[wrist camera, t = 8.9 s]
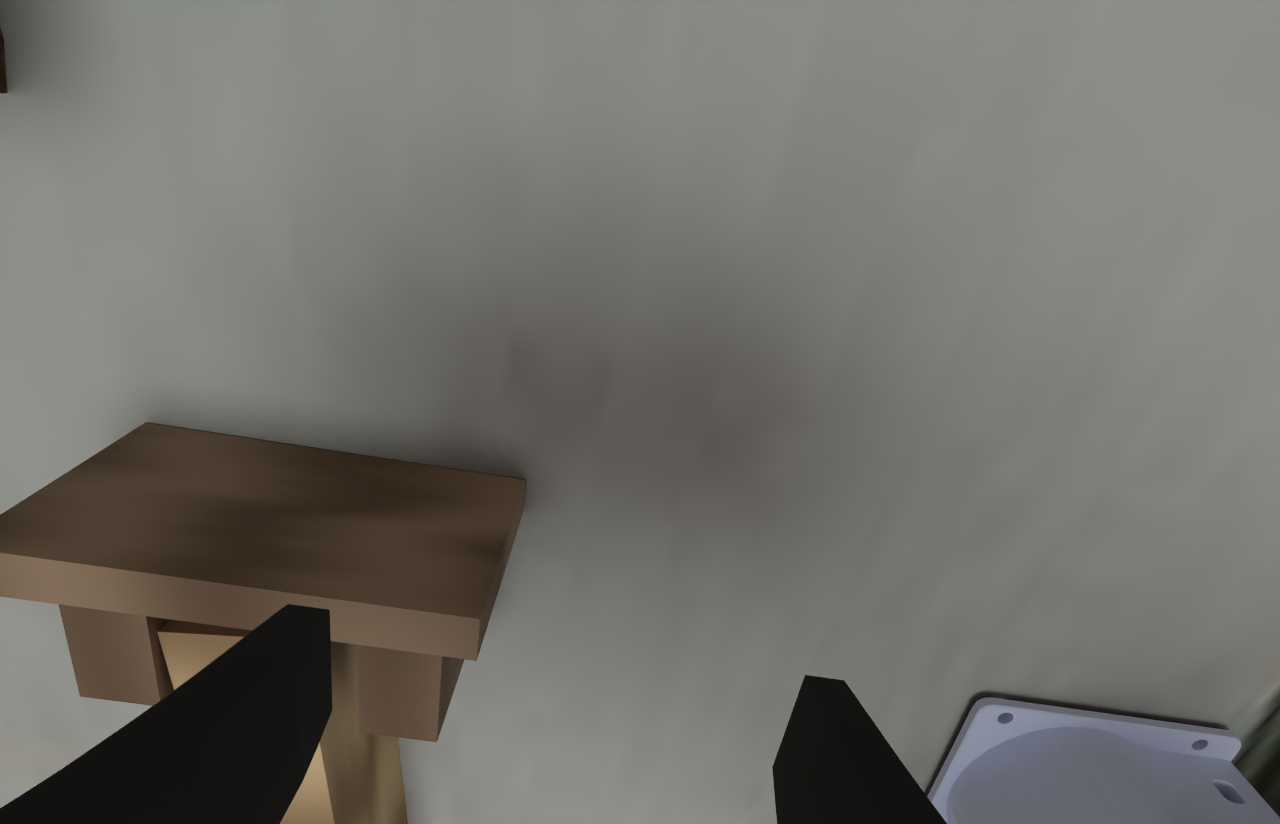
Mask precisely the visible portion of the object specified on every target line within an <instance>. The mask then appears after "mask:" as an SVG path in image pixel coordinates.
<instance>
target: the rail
mask: <svg viewBox="0 0 1280 824" xmlns="http://www.w3.org/2000/svg"><path fill="white" fill-rule="evenodd" d="M251 631H252V630H245V629H238V628H231V627H223V626H216V625H208V624H201V623H194V622H186V621H179V620H172V619H169V620H168V621H167V622H166V623H165V624H164V625H163V626H162V627H161V628H160V629H159V630H158V631H157V633H158V636H159V640H160V643H161V647H162V650H163V653H164V657H165V660H166V664H167V667H168V670H169V674H170V677H171V681H172V684H173V687H174V690H175V689H176V688H178V687H179V686H180V685H182V684H183V683H184V682H186V681H187V680H189V679H190V678H191V677H193V676H194V675H195V674H197V673H198V672H199V671H201V670H202V669H203V668H205V667H206V666H207V665H208V664H210V663H211V662H212V661H214V660H215V659H216V658H218V657H219V656H220V655H222V654H223V653H224V652H225V651H227V650H228V649H229V648H231V647H232V646H233V645H234V644H236V643H237V642H238V641H240V640H241V639H242V638H243V637H245V636H246V635H247V634H249V633H250V632H251ZM331 674H332V713H331V715H330V717H329V720H328V722H327V725H326V727H325V730H324V732H323V735H322V737H321V740H320V742H319V745H318V747H317V750H316V752H315V754H314V757H313V759H312V761H311V764H310V766H309V768H308V771H307V773H306V775H305V778H304V780H303V782H302V784H301V786H300V787H299V789H298V791H297V793H296V795H295V797H294V799H293V801H292V802H291V804H290V806H289V808H288V810H287V812H286V813H285V815H284V817H283V819H282V821H281V823H280V824H408V823H407V814H406V806H405V797H404V789H403V780H402V772H401V763H400V754H399V746H398V737H393V736H386V735H378V734H370V733H362V732H359V645H356V644H349V643H342V642H334V641H331Z"/></svg>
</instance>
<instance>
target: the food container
mask: <svg viewBox="0 0 1280 824" xmlns="http://www.w3.org/2000/svg"><path fill="white" fill-rule="evenodd" d="M0 93H7V86H6V71H5V55H4V40H3V37H2V34H1V30H0Z"/></svg>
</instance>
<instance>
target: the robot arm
mask: <svg viewBox="0 0 1280 824" xmlns="http://www.w3.org/2000/svg"><path fill="white" fill-rule="evenodd" d="M331 713H332V674H331V637H330V610H329V609H321V608H314V607H307V606H299V605H292V604H287V605H286V606H284V607H283V608H281V609H280V610H279V611H277V612H276V613H275V614H273V615H272V616H271V617H269V618H268V619H267V620H265V621H264V622H263V623H262V624H260V625H259V626H258V627H256V628H255V629H254V630H252V631H251V632H250V633H249V634H247V635H246V636H245V637H243V638H242V639H241V640H240V641H238V642H237V643H236V644H234V645H233V646H232V647H231V648H229V649H228V650H227V651H225V652H224V653H223V654H222V655H220V656H219V657H218V658H216V659H215V660H214V661H212V662H211V663H210V664H208V665H207V666H206V667H205V668H203V669H202V670H201V671H199V672H198V673H197V674H195V675H194V676H193V677H191V678H190V679H189V680H187V681H186V682H184V683H183V684H182V685H180V686H179V687H178V688H176V689H175V690H174V691H172V692H171V693H170V694H168V695H167V696H166V697H164V698H163V699H161V700H160V701H159V702H157V703H156V704H155V705H153V706H152V707H151V708H149V709H148V710H147V711H145V712H144V713H142V714H141V715H140V716H138V717H137V718H135V719H134V720H133V721H131V722H130V723H128V724H127V725H125V726H124V727H123V728H121V729H120V730H118V731H117V732H115V733H114V734H112V735H111V736H109V737H108V738H106V739H105V740H104V741H102V742H101V743H99V744H98V745H96V746H95V747H93V748H92V749H90V750H89V751H87V752H86V753H85V754H83V755H82V756H80V757H79V758H77V759H76V760H74V761H73V762H71V763H70V764H69V765H67V766H66V767H64V768H63V769H61V770H60V771H58V772H57V773H55V774H53V775H52V776H50V777H49V778H47V779H46V780H44V781H43V782H41V783H40V784H38V785H36V786H35V787H33V788H32V789H30V790H29V791H27V792H26V793H24V794H22V795H21V796H19V797H18V798H16V799H14V800H13V801H11V802H10V803H8V804H6V805H5V806H3V807H2V808H0V824H280V823H281V821H282V819H283V817H284V815H285V813H286V812H287V810H288V808H289V806H290V804H291V802H292V801H293V799H294V797H295V795H296V793H297V791H298V789H299V787H300V786H301V784H302V782H303V780H304V778H305V775H306V773H307V771H308V768H309V766H310V764H311V761H312V759H313V757H314V754H315V752H316V750H317V747H318V745H319V742H320V740H321V737H322V735H323V732H324V730H325V727H326V725H327V722H328V720H329V717H330V715H331ZM1240 748H1241V741H1240V740H1239V739H1238V738H1237V737H1236V736H1235V735H1234V733H1233V732H1232V731H1229V730H1224V729H1216V728H1209V727H1202V726H1195V725H1187V724H1180V723H1173V722H1166V721H1158V720H1151V719H1144V718H1137V717H1129V716H1122V715H1115V714H1108V713H1101V712H1093V711H1086V710H1079V709H1072V708H1064V707H1057V706H1050V705H1043V704H1035V703H1028V702H1021V701H1014V700H1006V699H999V698H992V697H986V698H982V699H980V700H978V701H977V702H976V703H975V704H974V705H973V707H972V709H971V710H970V712H969V714H968V716H967V718H966V720H965V722H964V724H963V726H962V728H961V730H960V732H959V734H958V736H957V738H956V740H955V742H954V744H953V746H952V748H951V750H950V752H949V754H948V756H947V758H946V760H945V762H944V764H943V766H942V768H941V770H940V772H939V774H938V776H937V778H936V780H935V782H934V784H933V786H932V788H931V790H930V792H929V794H928V796H926V795H925V793H924V792H923V791H922V789H921V788H920V787H919V785H918V784H917V783H916V781H915V780H914V778H913V777H912V776H911V774H910V773H909V772H908V770H907V769H906V767H905V766H904V765H903V763H902V762H901V760H900V759H899V758H898V756H897V755H896V753H895V752H894V751H893V749H892V748H891V746H890V745H889V744H888V742H887V741H886V739H885V738H884V736H883V735H882V734H881V732H880V731H879V729H878V728H877V727H876V725H875V724H874V722H873V721H872V719H871V718H870V717H869V715H868V714H867V712H866V711H865V709H864V708H863V707H862V705H861V704H860V702H859V701H858V699H857V698H856V697H855V695H854V694H853V692H852V691H851V690H850V688H849V687H848V685H847V684H846V683H845V681H844V680H837V679H829V678H822V677H815V676H808V675H805V677H804V680H803V683H802V686H801V689H800V691H799V694H798V697H797V700H796V703H795V706H794V708H793V711H792V714H791V717H790V720H789V722H788V725H787V728H786V731H785V734H784V737H783V739H782V742H781V745H780V748H779V751H778V753H777V756H776V759H775V762H774V765H773V778H774V791H775V803H776V814H777V824H1280V817H1279V816H1278V815H1277V814H1276V813H1275V812H1274V811H1273V809H1272V808H1271V807H1270V806H1269V805H1268V804H1267V803H1266V801H1265V800H1264V799H1263V798H1262V797H1261V796H1260V795H1259V793H1258V792H1257V791H1256V790H1255V789H1254V788H1253V787H1252V785H1251V784H1250V783H1249V782H1248V781H1247V780H1246V779H1245V778H1244V776H1243V775H1242V774H1241V773H1240V772H1239V771H1238V770H1237V768H1236V767H1235V766H1234V765H1233V764H1232V763H1231V761H1232V760H1233V758H1234V757H1235V756H1236V754H1237V753H1238V752H1239V750H1240Z"/></svg>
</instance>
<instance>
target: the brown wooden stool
mask: <svg viewBox="0 0 1280 824" xmlns="http://www.w3.org/2000/svg"><path fill="white" fill-rule="evenodd" d="M525 484H526V480H523V479H516V478H509V477H503V476H496V475H489V474H483V473H476V472H469V471H463V470H456V469H449V468H443V467H436V466H429V465H423V464H416V463H410V462H403V461H396V460H390V459H383V458H376V457H370V456H363V455H356V454H350V453H343V452H336V451H330V450H323V449H316V448H310V447H303V446H296V445H290V444H283V443H277V442H270V441H263V440H257V439H250V438H243V437H237V436H230V435H223V434H217V433H210V432H203V431H197V430H190V429H183V428H177V427H170V426H164V425H157V424H150V423H144V424H142V425H141V426H139V427H138V428H136V429H135V430H133V431H131V432H130V433H128V434H127V435H125V436H124V437H122V438H120V439H119V440H117V441H116V442H114V443H113V444H111V445H109V446H108V447H106V448H105V449H103V450H102V451H100V452H98V453H97V454H95V455H94V456H92V457H91V458H89V459H87V460H86V461H84V462H83V463H81V464H80V465H78V466H76V467H75V468H73V469H72V470H70V471H69V472H67V473H65V474H64V475H62V476H61V477H59V478H58V479H56V480H54V481H53V482H51V483H50V484H48V485H47V486H45V487H43V488H42V489H40V490H39V491H37V492H36V493H34V494H32V495H31V496H29V497H28V498H26V499H25V500H23V501H21V502H20V503H18V504H17V505H15V506H14V507H12V508H10V509H9V510H7V511H6V512H4V513H3V514H1V515H0V596H1V597H9V598H16V599H24V600H31V601H38V602H46V603H53V604H59V608H60V612H61V617H62V621H63V625H64V629H65V634H66V638H67V642H68V647H69V651H70V655H71V659H72V664H73V668H74V672H75V676H76V681H77V685H78V689H79V694H80V696H81V697H89V698H97V699H105V700H113V701H120V702H128V703H136V704H144V705H152V706H153V705H155V704H156V703H157V702H159V701H160V700H161V699H163V698H164V697H166V696H167V695H168V694H170V693H171V692H172V691H174V687H173V684H172V681H171V677H170V674H169V670H168V667H167V664H166V660H165V657H164V653H163V650H162V647H161V643H160V640H159V636H158V633H157V631H158V630H159V629H160V628H161V627H162V626H163V625H164V624H165V623H166V622H167V621H168V620H169V619H172V620H179V621H186V622H194V623H201V624H208V625H216V626H223V627H231V628H238V629H245V630H254V629H255V628H256V627H258V626H259V625H260V624H262V623H263V622H264V621H265V620H267V619H268V618H269V617H271V616H272V615H273V614H275V613H276V612H277V611H279V610H280V609H281V608H283V607H284V606H286V605H287V604H292V605H299V606H307V607H314V608H321V609H329V610H330V637H331V641H334V642H342V643H349V644H356V645H359V732H362V733H370V734H378V735H386V736H393V737H401V738H409V739H417V740H425V741H432V742H437V740H438V737H439V734H440V731H441V728H442V725H443V722H444V719H445V716H446V713H447V710H448V707H449V704H450V701H451V698H452V695H453V692H454V689H455V686H456V683H457V680H458V677H459V674H460V671H461V668H462V665H463V662H464V659H467V660H475V661H477V658H478V654H479V651H480V648H481V645H482V641H483V638H484V635H485V632H486V629H487V625H488V622H489V619H490V616H491V612H492V609H493V606H494V603H495V600H496V596H497V593H498V590H499V587H500V584H501V580H502V577H503V574H504V571H505V567H506V564H507V561H508V558H509V555H510V551H511V548H512V545H513V542H514V539H515V535H516V532H517V529H518V526H519V522H520V519H521V516H522V511H523V502H524V493H525Z"/></svg>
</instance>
